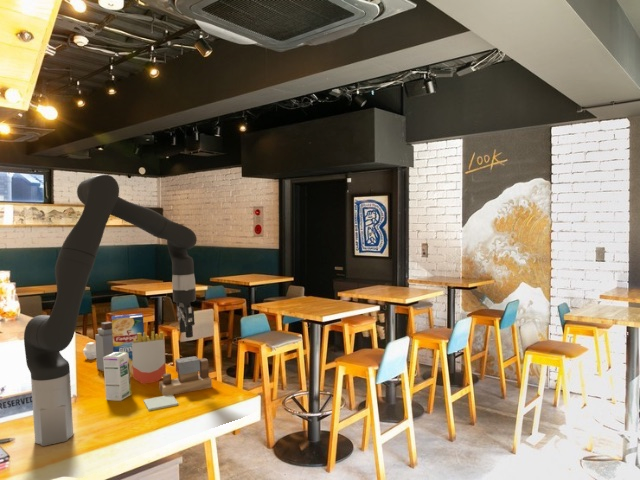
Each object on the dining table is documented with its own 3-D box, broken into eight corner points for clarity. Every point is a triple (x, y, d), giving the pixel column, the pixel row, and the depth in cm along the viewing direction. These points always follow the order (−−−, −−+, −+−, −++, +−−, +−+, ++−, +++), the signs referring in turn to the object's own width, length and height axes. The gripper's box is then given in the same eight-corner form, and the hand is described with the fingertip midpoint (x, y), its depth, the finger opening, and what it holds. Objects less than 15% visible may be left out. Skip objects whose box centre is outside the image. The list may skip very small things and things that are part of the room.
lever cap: (200, 371, 173) (199, 359, 173) (179, 374, 170) (178, 363, 169) (196, 367, 177) (195, 356, 177) (175, 370, 174) (175, 359, 174)
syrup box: (121, 401, 163) (119, 356, 163) (105, 400, 165) (102, 356, 164) (131, 394, 169) (129, 351, 168) (115, 394, 170) (113, 351, 169)
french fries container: (133, 381, 183) (130, 331, 182) (164, 376, 187) (162, 328, 186) (134, 384, 179) (131, 334, 178) (166, 380, 183) (163, 330, 182)
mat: (178, 404, 159) (178, 403, 159) (148, 411, 155) (148, 409, 154) (172, 396, 167) (172, 394, 167) (143, 401, 162) (143, 399, 162)
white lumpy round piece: (96, 355, 218) (96, 339, 218) (101, 358, 214) (100, 341, 213) (81, 358, 215) (80, 342, 214) (85, 361, 210) (84, 344, 209)
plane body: (211, 387, 174) (210, 361, 173) (163, 396, 166) (162, 369, 166) (206, 381, 180) (204, 356, 180) (159, 390, 173) (158, 364, 172)
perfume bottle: (96, 368, 200) (94, 323, 199) (113, 364, 205) (111, 320, 204) (104, 371, 195) (102, 325, 194) (121, 367, 200) (119, 322, 199)
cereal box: (146, 374, 190) (143, 316, 189) (114, 379, 186) (111, 319, 185) (145, 369, 196) (142, 313, 195) (114, 373, 192) (111, 316, 191)
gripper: (168, 286, 176) (170, 332, 177) (177, 291, 164) (180, 340, 165) (189, 283, 180) (191, 329, 181) (200, 288, 167) (202, 337, 168)
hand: (186, 334), depth 173 cm, fingers open, 8 cm apart
